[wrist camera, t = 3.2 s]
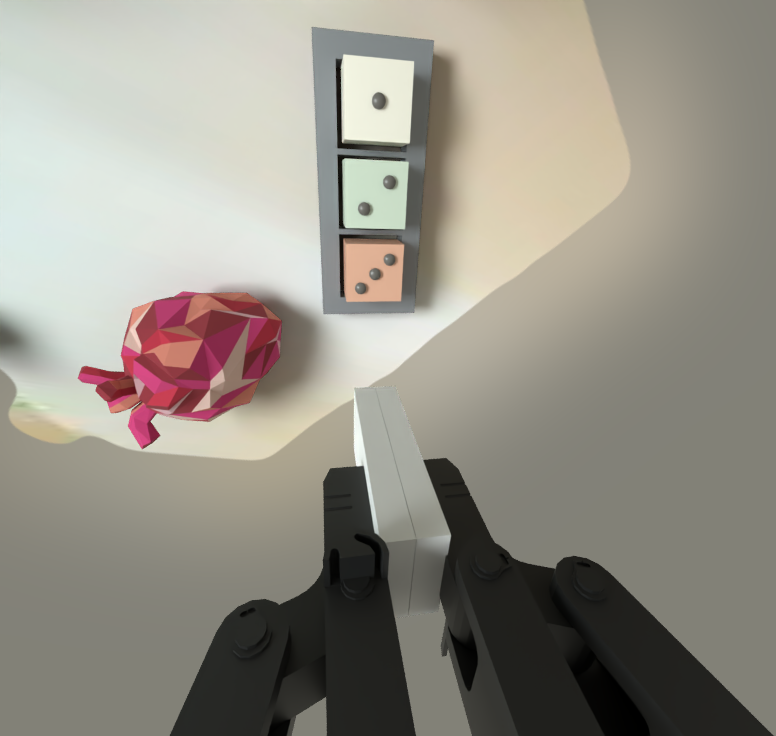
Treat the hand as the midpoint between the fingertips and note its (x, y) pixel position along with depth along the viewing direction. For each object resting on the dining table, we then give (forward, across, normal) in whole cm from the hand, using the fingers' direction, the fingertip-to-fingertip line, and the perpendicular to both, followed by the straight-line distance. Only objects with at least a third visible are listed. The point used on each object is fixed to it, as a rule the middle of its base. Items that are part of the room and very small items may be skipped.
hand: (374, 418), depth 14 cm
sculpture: (+34, -16, -10) cm, 39 cm away
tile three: (+32, +4, -1) cm, 32 cm away
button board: (+34, +4, +7) cm, 35 cm away
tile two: (+32, +4, +7) cm, 32 cm away
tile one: (+31, +4, +14) cm, 35 cm away
